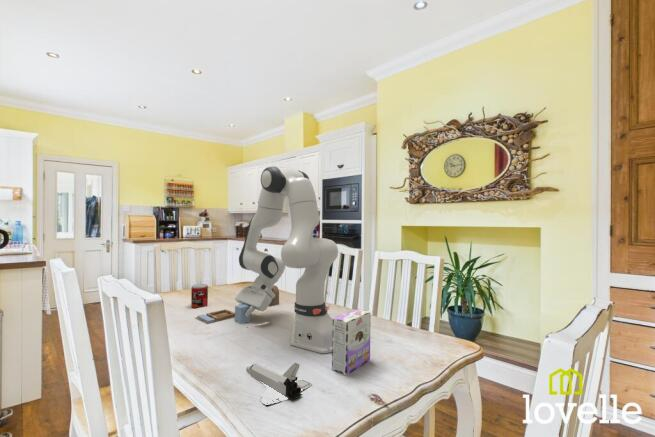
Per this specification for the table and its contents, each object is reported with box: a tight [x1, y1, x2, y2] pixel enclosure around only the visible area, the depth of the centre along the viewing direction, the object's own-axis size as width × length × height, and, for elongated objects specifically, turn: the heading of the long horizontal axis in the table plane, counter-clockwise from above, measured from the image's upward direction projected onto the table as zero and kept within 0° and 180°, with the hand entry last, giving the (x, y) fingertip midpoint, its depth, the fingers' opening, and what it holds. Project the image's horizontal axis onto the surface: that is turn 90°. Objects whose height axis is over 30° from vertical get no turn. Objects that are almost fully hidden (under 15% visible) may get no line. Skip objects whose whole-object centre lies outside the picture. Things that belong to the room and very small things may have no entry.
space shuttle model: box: [246, 362, 312, 404], centre depth 94 cm, size 16×25×10 cm, turn 46°
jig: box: [194, 309, 235, 325], centre depth 150 cm, size 12×16×2 cm
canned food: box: [190, 283, 209, 310], centre depth 171 cm, size 8×8×11 cm
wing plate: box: [197, 314, 216, 324], centre depth 146 cm, size 10×3×1 cm, turn 47°
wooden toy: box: [268, 284, 280, 307], centre depth 181 cm, size 15×7×25 cm, turn 42°
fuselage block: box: [234, 304, 252, 325], centre depth 145 cm, size 4×5×8 cm
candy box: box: [331, 308, 371, 376], centre depth 106 cm, size 14×6×16 cm, turn 141°
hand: (241, 314), depth 144 cm, fingers closed on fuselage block, 4 cm apart
